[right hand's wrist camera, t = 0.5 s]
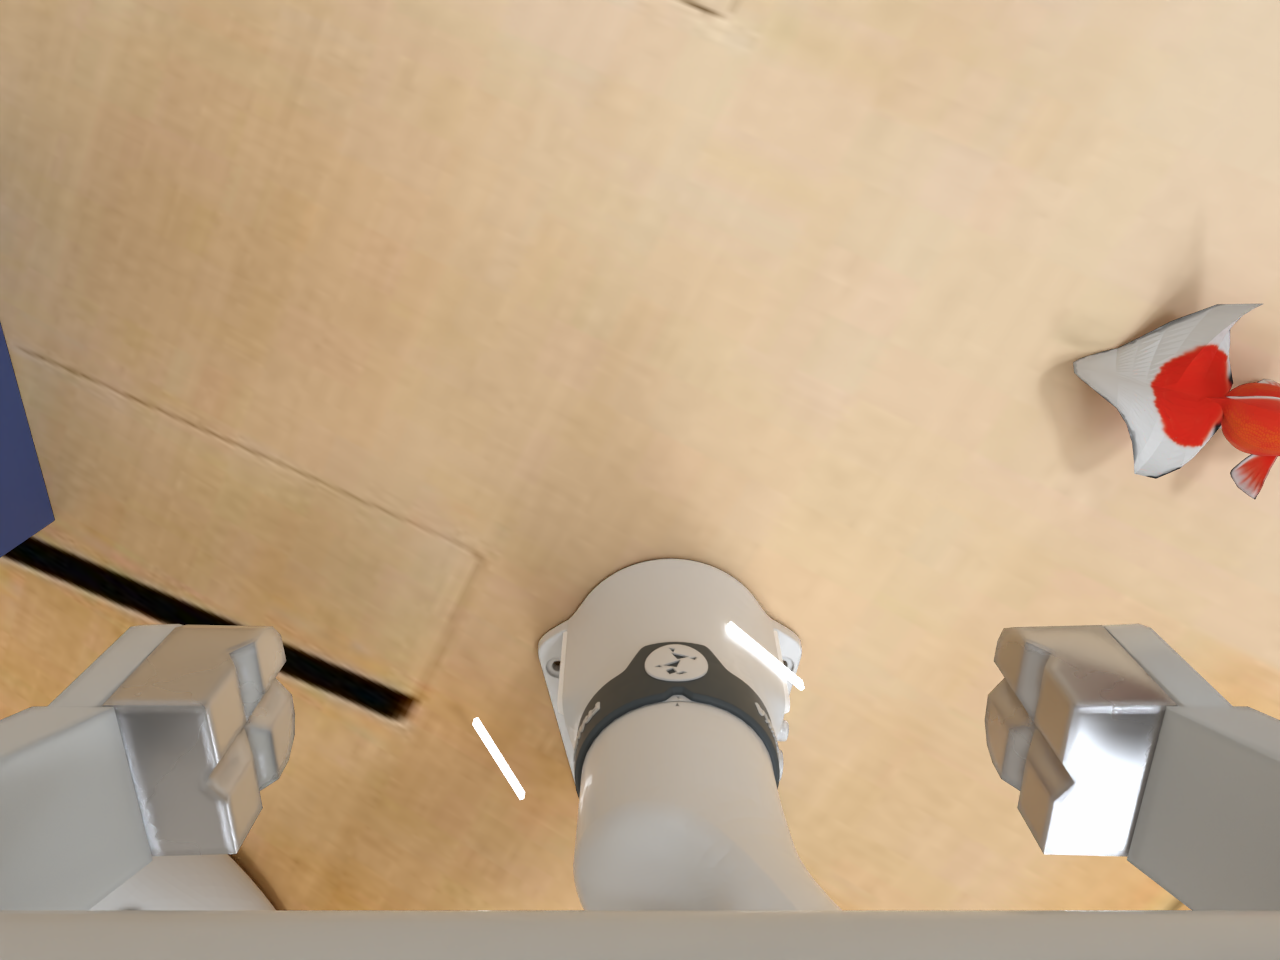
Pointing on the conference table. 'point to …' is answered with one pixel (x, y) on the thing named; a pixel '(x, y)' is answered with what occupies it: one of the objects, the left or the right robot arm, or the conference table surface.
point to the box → (18, 466)
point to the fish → (1188, 396)
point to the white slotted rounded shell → (187, 886)
